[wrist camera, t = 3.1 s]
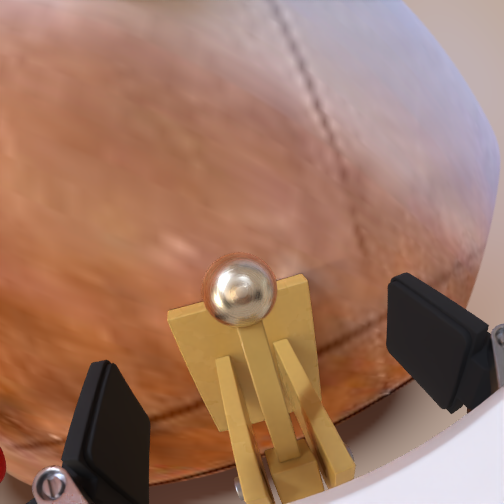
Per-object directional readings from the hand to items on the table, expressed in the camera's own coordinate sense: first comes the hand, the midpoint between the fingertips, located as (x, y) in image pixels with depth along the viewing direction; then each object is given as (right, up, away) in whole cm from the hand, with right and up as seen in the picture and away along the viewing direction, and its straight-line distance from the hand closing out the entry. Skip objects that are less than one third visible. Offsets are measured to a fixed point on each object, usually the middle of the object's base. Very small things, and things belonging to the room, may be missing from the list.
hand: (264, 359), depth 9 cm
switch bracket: (0, -5, +12) cm, 13 cm away
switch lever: (0, -3, +5) cm, 6 cm away
